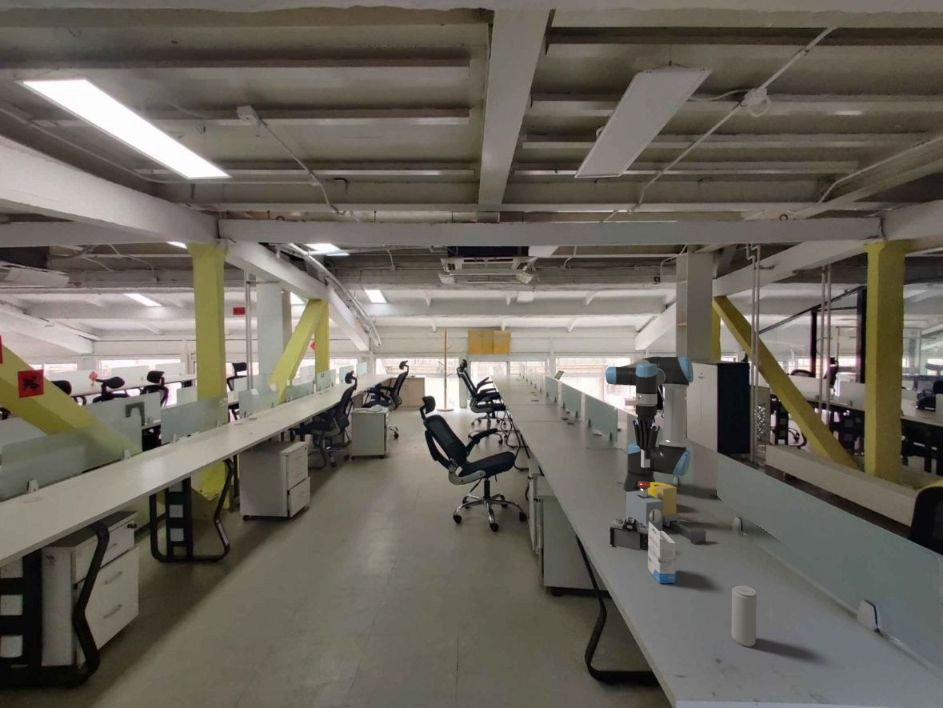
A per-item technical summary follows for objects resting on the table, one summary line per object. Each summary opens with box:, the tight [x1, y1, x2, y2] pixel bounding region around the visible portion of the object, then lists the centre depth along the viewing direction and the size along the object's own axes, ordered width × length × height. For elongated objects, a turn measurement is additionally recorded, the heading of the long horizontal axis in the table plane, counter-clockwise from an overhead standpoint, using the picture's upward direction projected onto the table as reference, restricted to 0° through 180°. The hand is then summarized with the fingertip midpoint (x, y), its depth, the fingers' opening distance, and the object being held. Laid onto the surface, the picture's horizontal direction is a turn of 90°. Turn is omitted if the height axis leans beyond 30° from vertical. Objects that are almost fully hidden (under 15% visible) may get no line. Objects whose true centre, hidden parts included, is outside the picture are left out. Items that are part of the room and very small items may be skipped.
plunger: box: [638, 481, 650, 499], centre depth 164 cm, size 4×4×8 cm
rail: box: [662, 521, 707, 545], centre depth 161 cm, size 5×23×4 cm, turn 15°
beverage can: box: [730, 584, 758, 647], centre depth 100 cm, size 5×5×12 cm
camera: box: [609, 517, 655, 553], centre depth 148 cm, size 16×9×10 cm, turn 63°
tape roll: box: [648, 481, 668, 497], centre depth 181 cm, size 10×10×9 cm
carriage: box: [656, 483, 682, 527], centre depth 166 cm, size 7×8×13 cm
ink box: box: [647, 522, 677, 584], centre depth 129 cm, size 8×5×15 cm, turn 0°
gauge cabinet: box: [625, 491, 663, 531], centre depth 164 cm, size 7×13×11 cm, turn 15°
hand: (645, 466), depth 164 cm, fingers closed
